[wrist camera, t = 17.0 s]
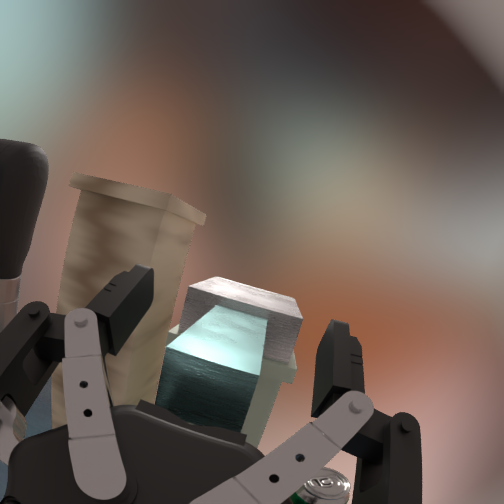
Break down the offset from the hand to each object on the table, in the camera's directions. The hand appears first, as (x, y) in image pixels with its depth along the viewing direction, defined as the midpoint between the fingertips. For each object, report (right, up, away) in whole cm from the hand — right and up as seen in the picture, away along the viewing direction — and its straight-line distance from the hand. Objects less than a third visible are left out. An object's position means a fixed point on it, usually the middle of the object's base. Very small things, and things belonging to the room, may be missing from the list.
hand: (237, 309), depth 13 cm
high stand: (-16, -22, +10) cm, 29 cm away
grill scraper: (-1, -3, +5) cm, 6 cm away
